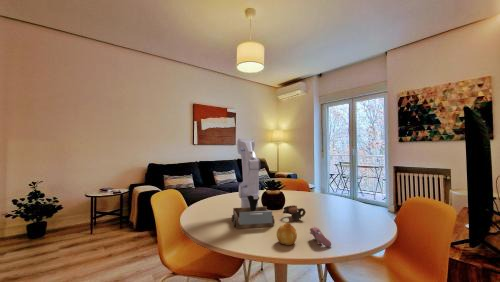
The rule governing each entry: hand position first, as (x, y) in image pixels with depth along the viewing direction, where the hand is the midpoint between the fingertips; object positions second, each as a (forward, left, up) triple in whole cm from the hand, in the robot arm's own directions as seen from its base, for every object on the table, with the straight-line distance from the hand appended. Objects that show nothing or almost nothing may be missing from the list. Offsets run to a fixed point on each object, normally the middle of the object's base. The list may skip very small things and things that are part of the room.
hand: (253, 210), depth 116 cm
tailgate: (+3, +5, -4) cm, 8 cm away
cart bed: (-1, -1, -6) cm, 7 cm away
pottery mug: (-22, +8, -7) cm, 24 cm away
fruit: (+5, +26, -7) cm, 28 cm away
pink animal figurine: (-5, +34, -7) cm, 36 cm away
